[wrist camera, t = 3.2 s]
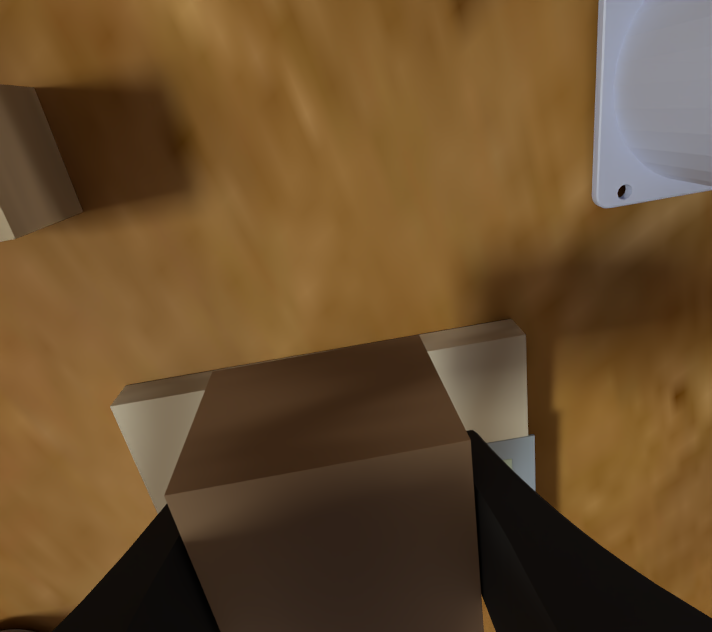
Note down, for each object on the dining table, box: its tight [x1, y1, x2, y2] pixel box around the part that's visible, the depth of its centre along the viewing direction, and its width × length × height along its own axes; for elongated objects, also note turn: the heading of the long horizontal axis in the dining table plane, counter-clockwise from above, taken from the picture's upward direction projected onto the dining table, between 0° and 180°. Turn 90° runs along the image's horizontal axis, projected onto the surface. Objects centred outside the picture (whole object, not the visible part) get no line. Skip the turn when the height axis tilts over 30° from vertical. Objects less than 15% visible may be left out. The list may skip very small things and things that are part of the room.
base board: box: [110, 319, 535, 514], centre depth 21 cm, size 16×13×2 cm
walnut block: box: [164, 335, 484, 632], centre depth 10 cm, size 5×5×4 cm
